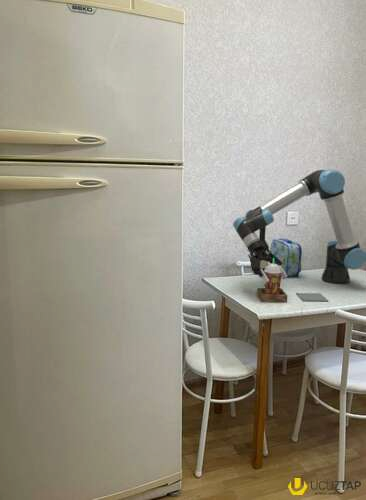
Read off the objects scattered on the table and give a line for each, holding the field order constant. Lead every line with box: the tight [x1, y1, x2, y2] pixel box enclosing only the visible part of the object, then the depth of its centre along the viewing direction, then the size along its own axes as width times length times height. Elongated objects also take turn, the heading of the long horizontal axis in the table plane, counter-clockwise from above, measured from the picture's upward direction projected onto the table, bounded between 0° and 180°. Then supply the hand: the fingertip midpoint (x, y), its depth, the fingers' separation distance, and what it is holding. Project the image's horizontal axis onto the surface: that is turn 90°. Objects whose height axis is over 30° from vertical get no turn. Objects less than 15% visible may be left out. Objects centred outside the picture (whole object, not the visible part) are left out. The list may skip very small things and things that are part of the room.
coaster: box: [295, 292, 329, 303], centre depth 196 cm, size 12×12×1 cm
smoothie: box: [263, 258, 282, 295], centre depth 192 cm, size 8×8×20 cm
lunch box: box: [269, 238, 303, 277], centre depth 244 cm, size 26×11×21 cm, turn 12°
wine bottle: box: [253, 226, 270, 276], centre depth 242 cm, size 8×8×30 cm
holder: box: [256, 287, 288, 303], centre depth 194 cm, size 12×12×4 cm
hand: (276, 280), depth 191 cm, fingers open, 13 cm apart
